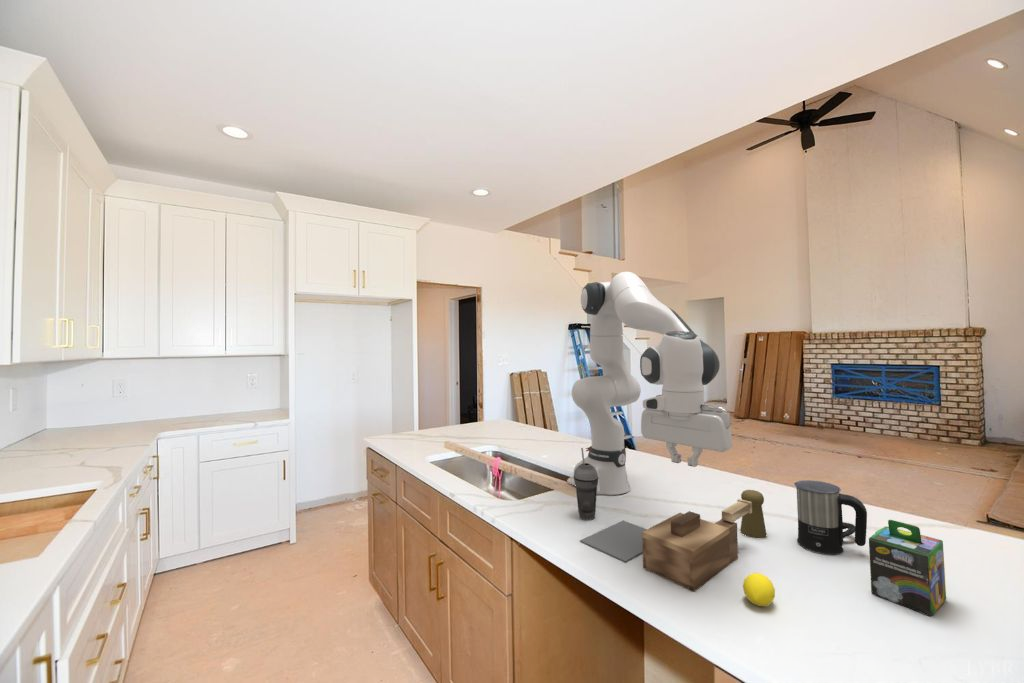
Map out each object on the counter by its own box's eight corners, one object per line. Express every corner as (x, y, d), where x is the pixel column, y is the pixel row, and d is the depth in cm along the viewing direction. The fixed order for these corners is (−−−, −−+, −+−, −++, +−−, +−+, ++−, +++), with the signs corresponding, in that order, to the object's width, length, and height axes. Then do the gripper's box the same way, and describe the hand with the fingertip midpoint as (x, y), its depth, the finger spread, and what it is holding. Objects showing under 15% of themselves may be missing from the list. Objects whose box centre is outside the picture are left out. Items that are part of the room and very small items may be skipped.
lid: (642, 541, 97) (641, 519, 97) (680, 521, 107) (679, 501, 107) (693, 562, 87) (692, 537, 87) (729, 537, 97) (728, 515, 97)
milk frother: (801, 552, 102) (800, 490, 102) (785, 525, 117) (784, 470, 117) (875, 561, 97) (874, 496, 97) (849, 532, 112) (847, 475, 112)
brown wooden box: (643, 568, 97) (642, 531, 97) (689, 540, 109) (688, 508, 109) (694, 591, 87) (693, 551, 87) (737, 558, 100) (737, 523, 100)
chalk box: (947, 600, 82) (945, 523, 82) (932, 618, 77) (930, 536, 77) (885, 578, 90) (884, 508, 90) (868, 593, 85) (867, 519, 85)
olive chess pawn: (770, 539, 109) (769, 496, 109) (744, 537, 110) (743, 494, 110) (761, 528, 115) (760, 487, 115) (737, 527, 116) (736, 486, 116)
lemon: (772, 618, 79) (771, 591, 79) (740, 607, 83) (738, 581, 82) (778, 595, 85) (777, 570, 84) (747, 586, 88) (746, 561, 87)
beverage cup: (589, 524, 120) (587, 453, 120) (569, 517, 126) (567, 448, 126) (604, 517, 125) (603, 448, 125) (585, 510, 130) (583, 444, 130)
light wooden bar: (720, 520, 101) (720, 509, 101) (739, 509, 108) (739, 498, 108) (733, 524, 99) (733, 513, 99) (752, 512, 105) (751, 502, 105)
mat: (580, 541, 110) (580, 540, 110) (623, 521, 121) (623, 520, 121) (625, 562, 99) (625, 561, 99) (668, 538, 111) (668, 537, 110)
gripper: (736, 406, 91) (738, 471, 91) (651, 397, 107) (652, 453, 107) (723, 409, 87) (724, 477, 87) (636, 400, 103) (637, 458, 103)
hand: (684, 464), depth 97 cm, fingers open, 3 cm apart
